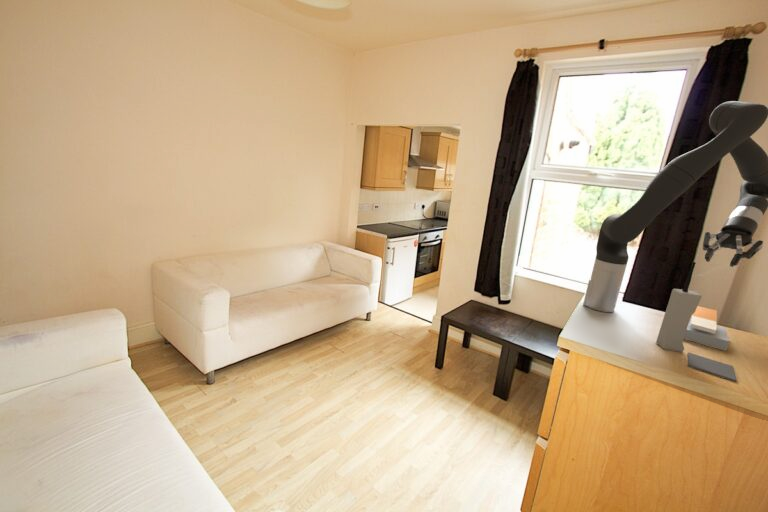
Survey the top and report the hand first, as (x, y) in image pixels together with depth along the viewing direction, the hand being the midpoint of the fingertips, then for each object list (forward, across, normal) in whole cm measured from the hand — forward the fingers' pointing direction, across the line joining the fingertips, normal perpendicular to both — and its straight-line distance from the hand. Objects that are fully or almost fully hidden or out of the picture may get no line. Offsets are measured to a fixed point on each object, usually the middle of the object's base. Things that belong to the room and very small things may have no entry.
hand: (719, 262), depth 109 cm
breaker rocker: (+18, +2, +6) cm, 19 cm away
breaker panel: (+23, +3, +9) cm, 24 cm away
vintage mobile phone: (+36, +1, -4) cm, 36 cm away
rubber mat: (+37, +10, -6) cm, 39 cm away
